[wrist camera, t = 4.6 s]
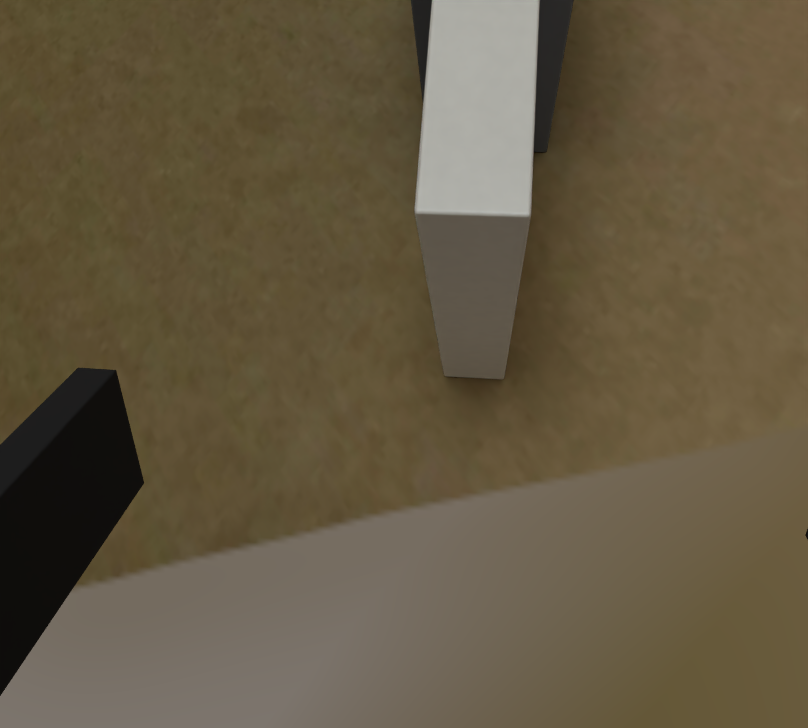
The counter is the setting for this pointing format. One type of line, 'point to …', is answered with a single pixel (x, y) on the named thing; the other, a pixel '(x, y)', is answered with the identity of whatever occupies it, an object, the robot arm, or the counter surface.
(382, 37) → the counter surface
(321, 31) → the counter surface
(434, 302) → the cream book
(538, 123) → the grey books
